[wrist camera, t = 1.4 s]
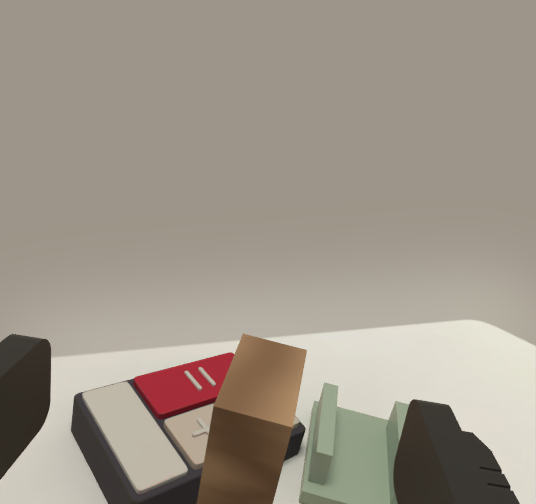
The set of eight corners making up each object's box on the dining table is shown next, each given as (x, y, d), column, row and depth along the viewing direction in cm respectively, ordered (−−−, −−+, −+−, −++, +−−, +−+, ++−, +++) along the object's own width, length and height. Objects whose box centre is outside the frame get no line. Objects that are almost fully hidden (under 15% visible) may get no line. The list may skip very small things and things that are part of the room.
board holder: (298, 502, 37) (310, 461, 35) (311, 410, 46) (321, 374, 44) (407, 533, 36) (424, 492, 34) (398, 434, 45) (412, 397, 43)
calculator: (310, 421, 40) (135, 495, 30) (297, 461, 42) (127, 543, 32) (233, 345, 47) (72, 385, 38) (225, 381, 49) (69, 429, 39)
